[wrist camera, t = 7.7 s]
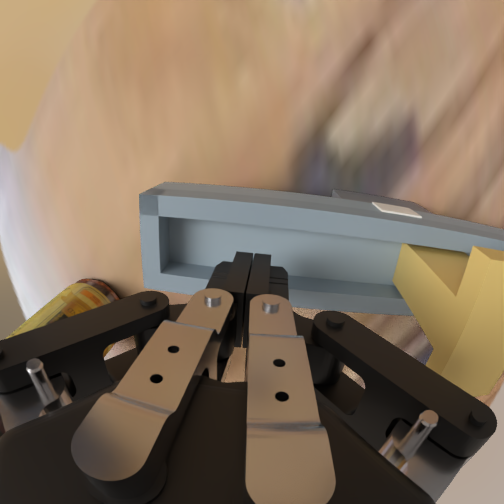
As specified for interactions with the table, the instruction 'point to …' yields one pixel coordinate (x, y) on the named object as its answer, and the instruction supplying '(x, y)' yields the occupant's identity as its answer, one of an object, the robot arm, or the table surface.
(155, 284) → the beam
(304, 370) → the robot arm
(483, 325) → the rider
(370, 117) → the table surface
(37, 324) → the sauce bottle
